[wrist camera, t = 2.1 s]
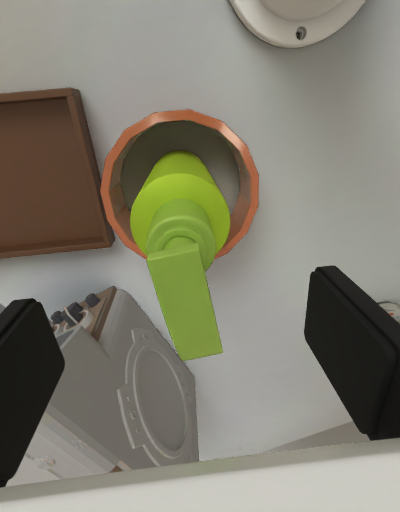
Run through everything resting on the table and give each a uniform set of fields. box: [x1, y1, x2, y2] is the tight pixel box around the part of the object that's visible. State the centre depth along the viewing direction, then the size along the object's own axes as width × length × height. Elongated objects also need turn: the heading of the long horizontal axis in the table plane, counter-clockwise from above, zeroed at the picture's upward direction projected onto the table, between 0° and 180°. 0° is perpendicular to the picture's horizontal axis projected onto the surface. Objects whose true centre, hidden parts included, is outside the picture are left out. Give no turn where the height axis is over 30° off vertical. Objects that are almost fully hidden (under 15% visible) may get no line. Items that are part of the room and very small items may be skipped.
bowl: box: [100, 109, 259, 260], centre depth 26 cm, size 13×13×5 cm
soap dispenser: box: [130, 151, 230, 361], centre depth 19 cm, size 6×7×20 cm
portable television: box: [5, 286, 199, 487], centre depth 23 cm, size 12×24×30 cm, turn 28°
